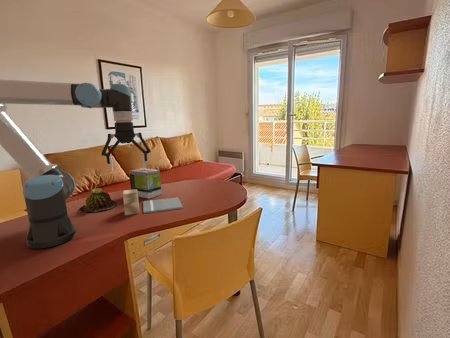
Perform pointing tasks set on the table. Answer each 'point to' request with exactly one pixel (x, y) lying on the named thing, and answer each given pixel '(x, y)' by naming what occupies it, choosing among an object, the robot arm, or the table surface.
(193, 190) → the table surface
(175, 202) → the board
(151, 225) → the table surface
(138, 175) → the tea box
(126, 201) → the beech block
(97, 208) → the cactus
